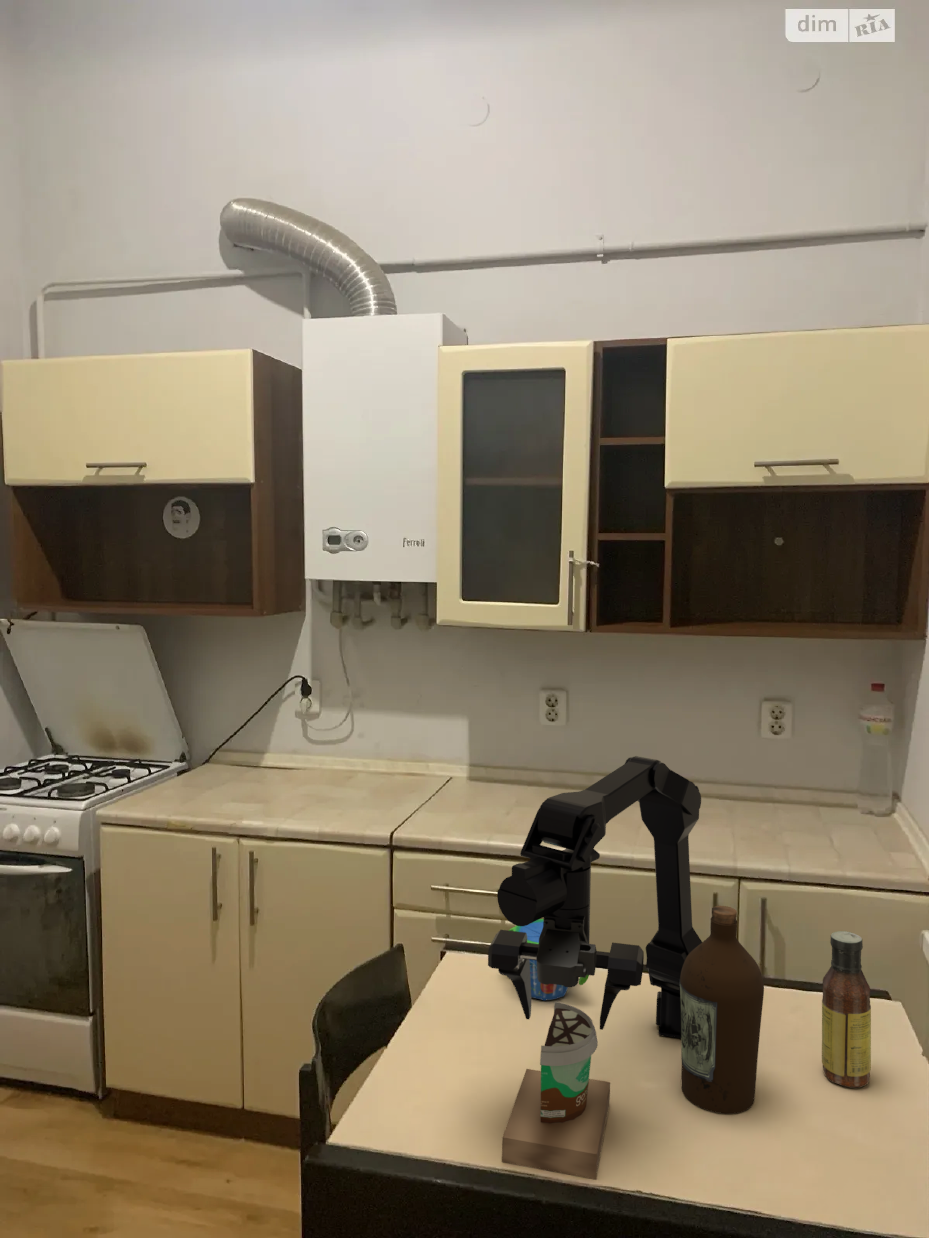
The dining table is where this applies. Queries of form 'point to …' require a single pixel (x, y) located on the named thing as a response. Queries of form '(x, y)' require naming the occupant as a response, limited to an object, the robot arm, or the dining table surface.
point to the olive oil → (720, 1019)
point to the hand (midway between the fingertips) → (564, 1022)
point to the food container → (566, 1064)
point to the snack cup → (537, 988)
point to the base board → (556, 1131)
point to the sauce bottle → (846, 1014)
